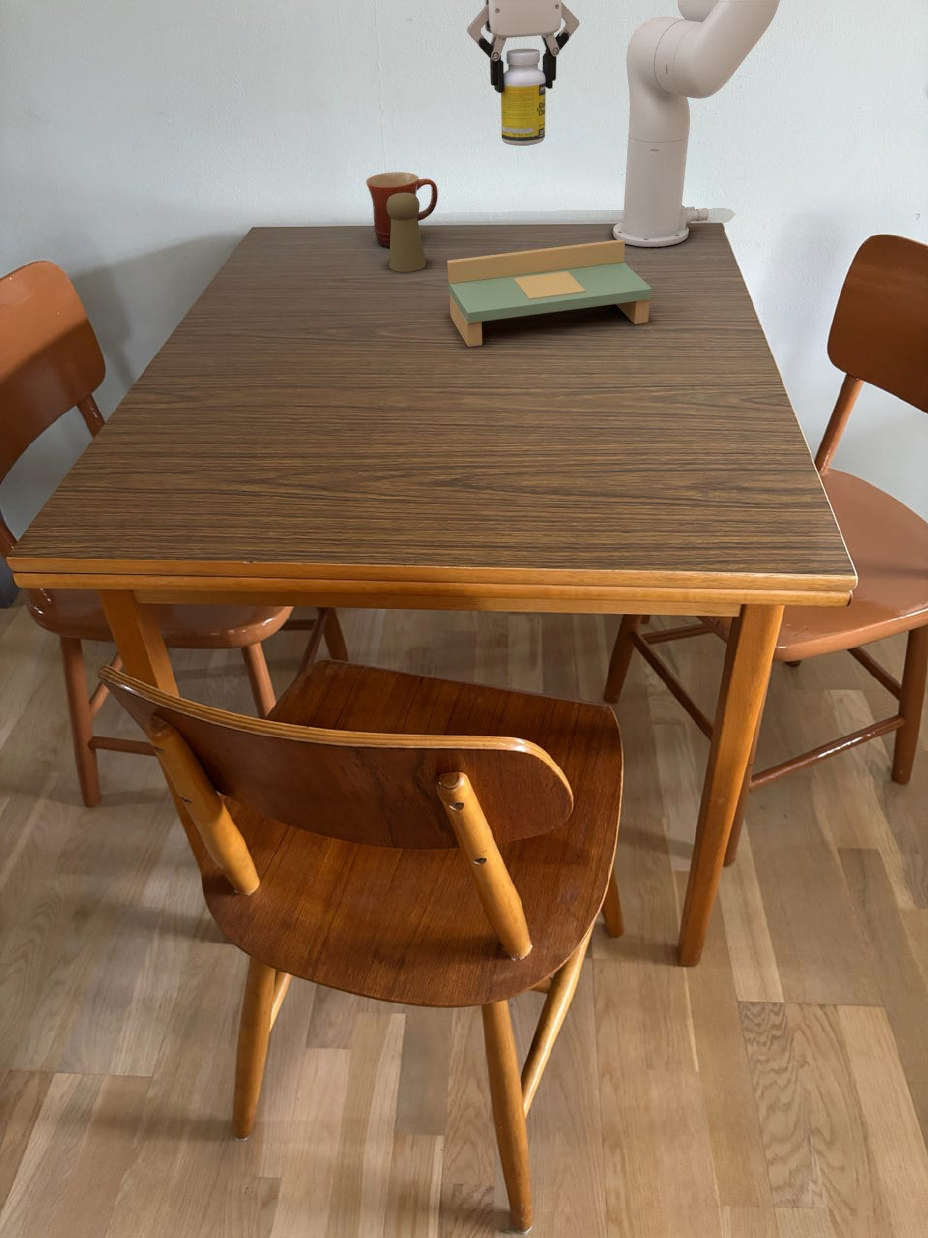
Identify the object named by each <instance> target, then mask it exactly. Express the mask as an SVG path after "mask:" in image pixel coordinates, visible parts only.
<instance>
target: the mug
mask: <svg viewBox="0 0 928 1238" xmlns="http://www.w3.org/2000/svg"><path fill="white" fill-rule="evenodd" d="M365 183H366V186H367V188H368V191H369V194H370V198H371V203H372V213H373V214H372V215H373V225H374V226H373V227H374V232H375V237H376V241H377V243H378V244H380V245H381V246H382V247H384V248H389V249H390V236H391V217H390V215H389V214H388V212H387V206H386V205H387V201H388V198H389V197H390V196H392V195H393V194H397V193H412V194H414V195H416V196H417V192H418V190H420V189H421V188H422V187H423V186H427V185H429V186H430V188H431V197H430V203H429V204H428V206H427V207H426V208H425V209H424V210H421V211H419V213H418V215H417V220H418V222H419V221H422V220H425V219H426V218H427V217H429V216H431V214H432V213H434V211H435V209H436V206H437V203H438V197H439V194H438V193H439V192H438V185H437V184H436V182H435V180H432V179H430V178H419V176H418V175H417V174H414V173H410V172H404V171H403V172H400V171H399V172H398V171H397V172H384V173H379V174H374V175H372V176H370V177H368V178H366V181H365Z"/></svg>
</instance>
